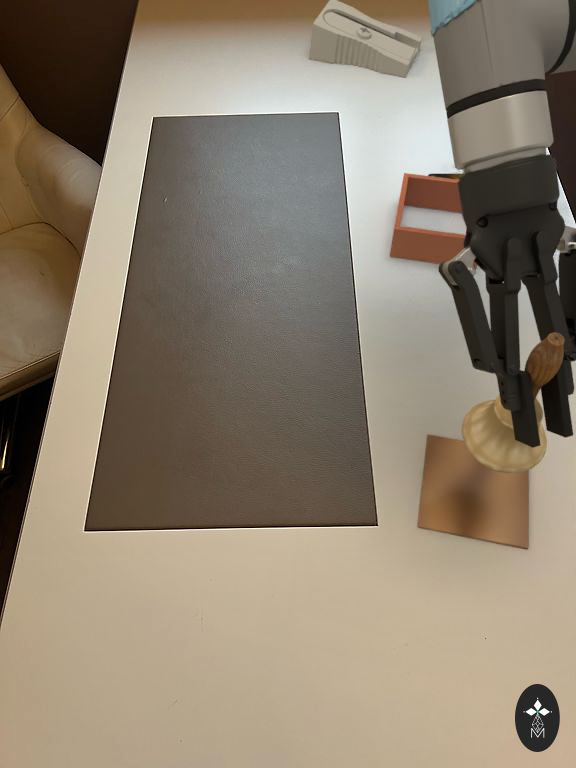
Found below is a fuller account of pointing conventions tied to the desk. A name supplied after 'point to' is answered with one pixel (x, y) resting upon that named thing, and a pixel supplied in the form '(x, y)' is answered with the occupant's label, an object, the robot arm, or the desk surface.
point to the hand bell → (494, 423)
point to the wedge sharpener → (361, 41)
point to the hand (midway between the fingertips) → (543, 437)
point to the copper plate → (472, 496)
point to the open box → (424, 241)
